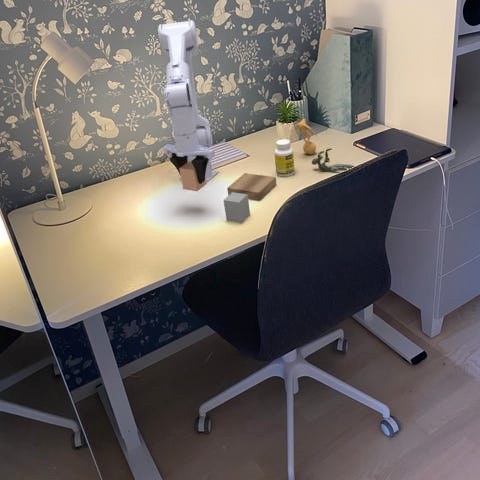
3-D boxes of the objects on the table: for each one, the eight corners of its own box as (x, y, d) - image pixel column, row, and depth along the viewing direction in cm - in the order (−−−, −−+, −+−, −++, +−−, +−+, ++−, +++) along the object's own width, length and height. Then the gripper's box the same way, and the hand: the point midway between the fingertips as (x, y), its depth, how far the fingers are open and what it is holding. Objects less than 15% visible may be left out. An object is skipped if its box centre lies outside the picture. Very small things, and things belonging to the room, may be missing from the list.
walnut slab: (228, 197, 152) (227, 187, 150) (246, 182, 159) (244, 173, 157) (260, 202, 147) (258, 192, 145) (276, 186, 154) (275, 177, 153)
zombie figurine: (359, 155, 148) (308, 152, 155) (360, 178, 152) (310, 173, 159) (365, 147, 152) (314, 144, 159) (365, 169, 156) (316, 166, 163)
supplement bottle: (288, 178, 157) (285, 146, 152) (272, 175, 160) (269, 143, 155) (298, 171, 160) (296, 139, 155) (282, 168, 163) (280, 137, 158)
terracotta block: (183, 189, 143) (179, 168, 140) (192, 181, 146) (188, 161, 143) (197, 191, 141) (193, 170, 138) (206, 183, 144) (203, 163, 141)
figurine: (324, 154, 169) (322, 116, 162) (312, 161, 165) (310, 123, 159) (303, 149, 174) (301, 112, 168) (291, 155, 171) (288, 118, 164)
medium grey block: (226, 220, 140) (223, 200, 136) (235, 212, 143) (232, 192, 140) (241, 223, 137) (238, 202, 134) (250, 215, 141) (247, 194, 138)
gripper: (152, 135, 136) (162, 184, 143) (200, 139, 129) (208, 190, 136) (169, 125, 141) (178, 173, 148) (215, 129, 134) (223, 179, 141)
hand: (193, 180), depth 143 cm, fingers closed on terracotta block, 4 cm apart
